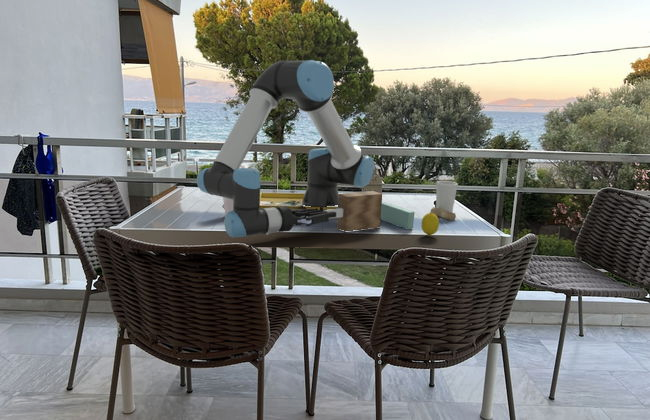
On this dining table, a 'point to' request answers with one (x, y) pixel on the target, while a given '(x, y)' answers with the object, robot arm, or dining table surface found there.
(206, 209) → the dining table surface
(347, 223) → the slab
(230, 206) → the smoothie
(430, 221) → the lemon
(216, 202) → the dining table surface
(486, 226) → the dining table surface
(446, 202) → the cup
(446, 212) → the roller
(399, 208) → the rail
